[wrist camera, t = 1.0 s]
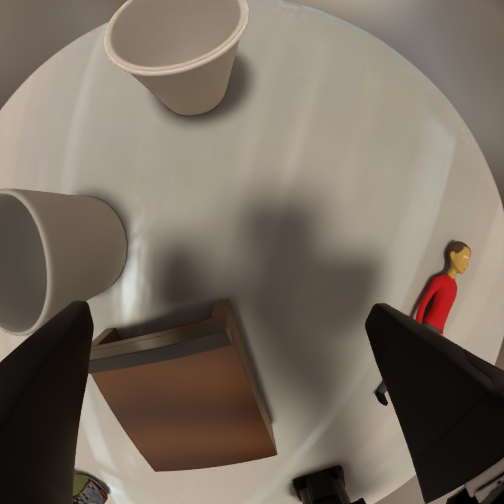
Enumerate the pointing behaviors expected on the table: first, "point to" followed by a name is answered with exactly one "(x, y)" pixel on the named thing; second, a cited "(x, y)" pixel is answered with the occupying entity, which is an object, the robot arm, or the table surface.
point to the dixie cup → (178, 48)
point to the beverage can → (87, 491)
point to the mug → (54, 254)
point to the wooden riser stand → (185, 394)
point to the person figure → (439, 297)
